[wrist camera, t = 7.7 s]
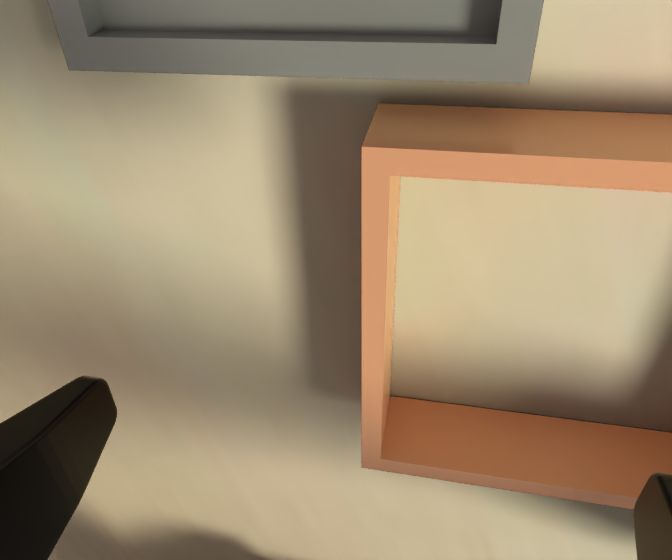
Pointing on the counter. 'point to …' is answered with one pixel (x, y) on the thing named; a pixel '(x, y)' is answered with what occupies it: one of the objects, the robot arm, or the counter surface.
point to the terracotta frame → (379, 294)
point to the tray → (304, 38)
